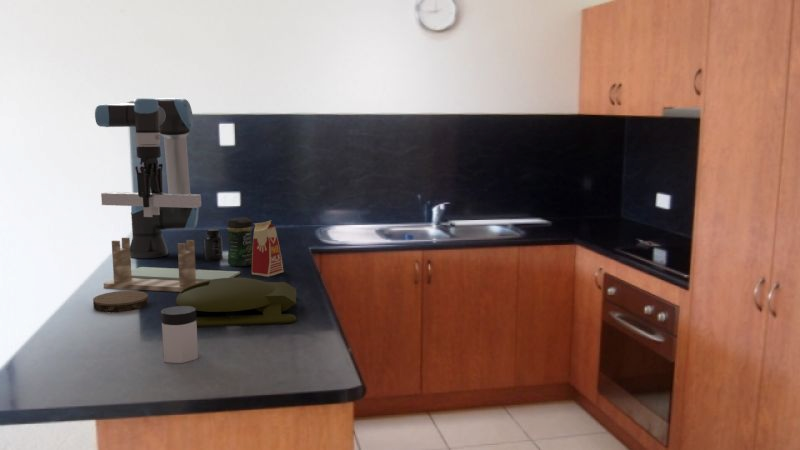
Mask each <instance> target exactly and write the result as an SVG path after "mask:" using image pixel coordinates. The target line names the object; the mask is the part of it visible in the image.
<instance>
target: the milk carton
mask: <svg viewBox="0 0 800 450" xmlns="http://www.w3.org/2000/svg"><path fill="white" fill-rule="evenodd" d="M271 222H272V220H268V221H267V220H266V221H263V222H257V223H255V222H254V223H253V225H254V226H255V227H254V228H253V229H254V230H253V237H252V238H253V239H252V264H251V275H255V276H262V277H267V278H268V277H272V276H275V275H278V274H282V273H284V265H283V257H282V253H281V248H280V243H279V238H278V233H277V229H276V226H275V225H273V223H271Z"/></svg>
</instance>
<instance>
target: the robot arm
mask: <svg viewBox="0 0 800 450" xmlns="http://www.w3.org/2000/svg"><path fill="white" fill-rule="evenodd" d="M94 118H95V122H96V125H97V126H98V127H99V128H100V127H103V128H111V127H112V128H120V127H121V128H122V127H123V128H124V127H126V128H129V127H130V128H131V127H133V128H135V145H137V146H136V157H137V158H138V159H140V163H139V165H136V166H135V167H134V168H135V171H136V180H137V193H138V195H139V197H143V206H130V208H131V209H130V210H131V211H130V215H131V217H130V219H131V229H132V230H131V231H132V238H131V242H130V256H131V259H153V258H154V259H155V258H161V257H165V256H167V255H168V253H169V252H168V247H167V244H166V241H165V239H164V237H163V230H164V231H166V230H167V231H168V230H169V231H171V230H175V231H177V230H184V231H185V230H193V229H195V228H196V227H197V224H198V220H199V213H200V212H199V210H200V207H197V208H181V207H152V197H150V193H163V190H164V189H163V166H164V165H163V163H159V161H158V158H161V156H162V155H161V154H162V153H161V152H162V151H161V147H160V146H159V145H161V137H163V143H164V145H163V146H164V155H165V157H164V158H165V168H166V178H167V179H166V180H167V190H168V191H167V192H168V193H167V194H192V193H191V186H190V185H191V184H190V169H189V159H188V158H189V156H188V145H187V144H188V142H187V137H188V135H189V134H190V132H191V129H192V128H194V116H193V111H192V107H191V105H190V102H189V100H187V99H185V98H177V97H168V98H167V97H164V98H163V97H162V98H161V97H160V98H159V97H158V98H140V97H139V98H135V99H134V100H131V101H127V102H126V103H119V104H118V103H115V104H106V103H104V104H98V105H96V106H95V108H94ZM160 135H161V136H160Z"/></svg>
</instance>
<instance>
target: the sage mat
mask: <svg viewBox="0 0 800 450" xmlns="http://www.w3.org/2000/svg"><path fill="white" fill-rule="evenodd" d="M195 271H196V281H198V282H203V281H207V280H212V279H219V278H236V277H238V276H239V275H240V274H241V271H237V270H235V271H233V270H215V269H214V270H213V269H209V270H208V269H196V268H195ZM131 274H132V278H138V279H158V280H178V281H179V268H174V267H173V268H172V267H171V268H169V267H153V266H152V267H151V266H150V267H149V266H140V267H135V268H134V269H131Z"/></svg>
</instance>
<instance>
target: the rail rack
mask: <svg viewBox="0 0 800 450" xmlns="http://www.w3.org/2000/svg"><path fill="white" fill-rule="evenodd" d="M130 245H131V242H130V237H121V240H111V251H112V255H111V256H112V268H113V269H112V271H113V278H112V279H110V280H108V281H105V282H104V283H103V288H104V289H105V288H106V289H121V290H122V289H123V290H137V291H138V290H139V291H140V290H141V291H156V292H157V291H158V292H159V291H160V292H161V291H162V292H179V293H181V292H182V291H183V290H184V289H186V288H188V287H190V286H192V285H194V284H197V283H200V282H201V281H196V271H195V269H196V252H195V249H196V248H195V246H196V245H195V240H194V239H187V240H186V241H185V243H182V242H181V243H179V242H178V243H177V255H178V256H177V257H178V261H177V262H178V269H179V280H167V279H147V278H132V274H131V270H132V257H131V256H130Z"/></svg>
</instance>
